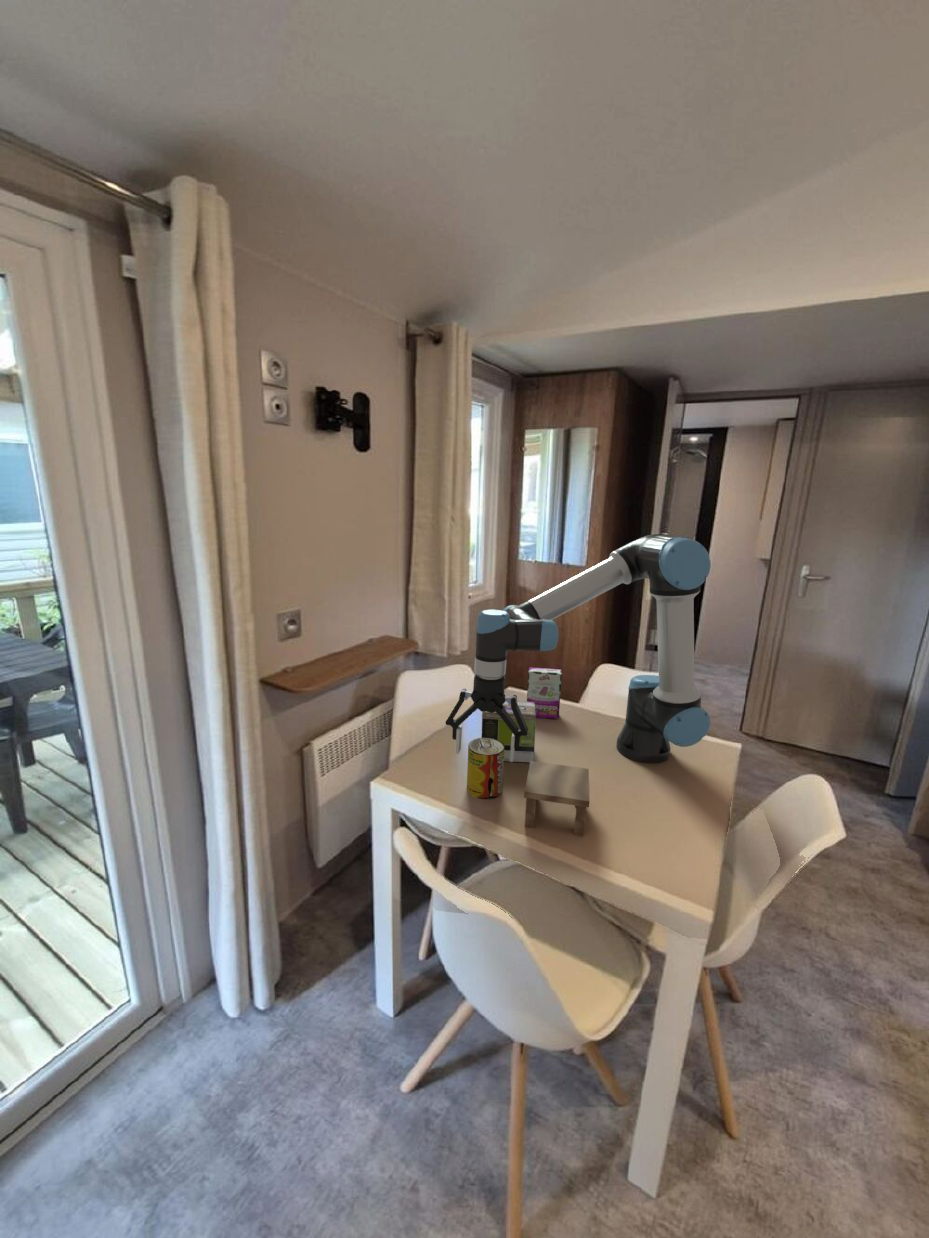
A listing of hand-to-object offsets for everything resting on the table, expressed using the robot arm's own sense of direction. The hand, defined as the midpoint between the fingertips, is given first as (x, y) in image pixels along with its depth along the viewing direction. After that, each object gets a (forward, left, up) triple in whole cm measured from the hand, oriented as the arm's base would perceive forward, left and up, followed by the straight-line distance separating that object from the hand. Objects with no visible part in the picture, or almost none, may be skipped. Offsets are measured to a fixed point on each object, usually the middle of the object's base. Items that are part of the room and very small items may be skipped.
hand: (484, 755), depth 127 cm
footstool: (-18, +6, -9) cm, 21 cm away
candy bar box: (-11, -50, -10) cm, 52 cm away
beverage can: (0, 0, -10) cm, 10 cm away
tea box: (-3, -20, -10) cm, 23 cm away
